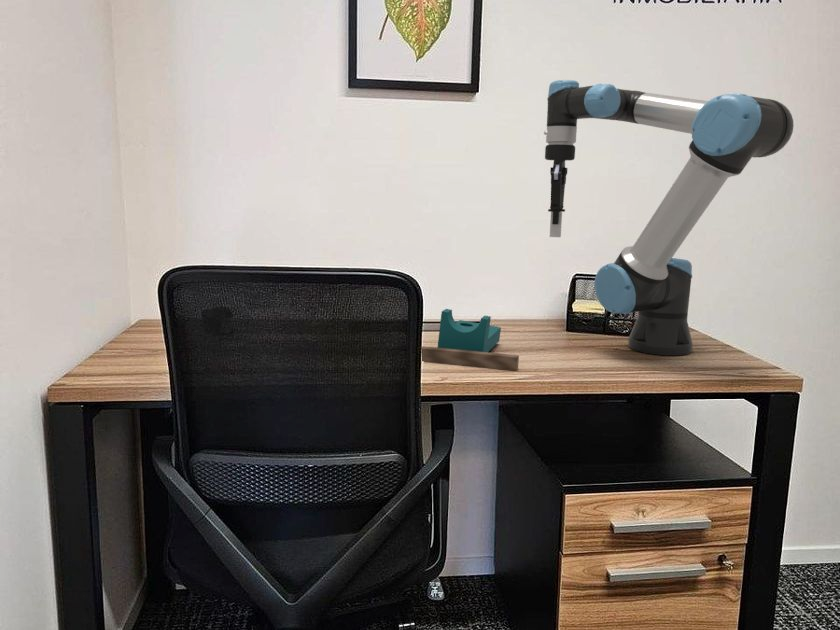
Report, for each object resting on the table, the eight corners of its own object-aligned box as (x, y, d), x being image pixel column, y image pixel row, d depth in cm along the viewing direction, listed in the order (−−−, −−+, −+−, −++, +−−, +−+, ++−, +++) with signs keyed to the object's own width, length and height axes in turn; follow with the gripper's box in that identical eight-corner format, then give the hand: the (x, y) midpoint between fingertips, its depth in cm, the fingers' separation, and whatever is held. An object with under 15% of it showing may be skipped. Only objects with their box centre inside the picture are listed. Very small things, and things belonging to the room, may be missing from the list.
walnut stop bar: (518, 368, 152) (518, 355, 151) (516, 370, 150) (517, 357, 149) (422, 359, 158) (422, 346, 157) (419, 361, 156) (420, 348, 156)
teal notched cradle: (481, 363, 158) (487, 319, 156) (436, 354, 161) (441, 311, 159) (498, 346, 175) (503, 306, 172) (457, 339, 178) (462, 299, 175)
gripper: (549, 145, 184) (544, 234, 188) (542, 142, 172) (537, 238, 176) (577, 145, 182) (572, 235, 186) (572, 142, 169) (567, 239, 174)
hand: (555, 236), depth 181 cm, fingers closed
